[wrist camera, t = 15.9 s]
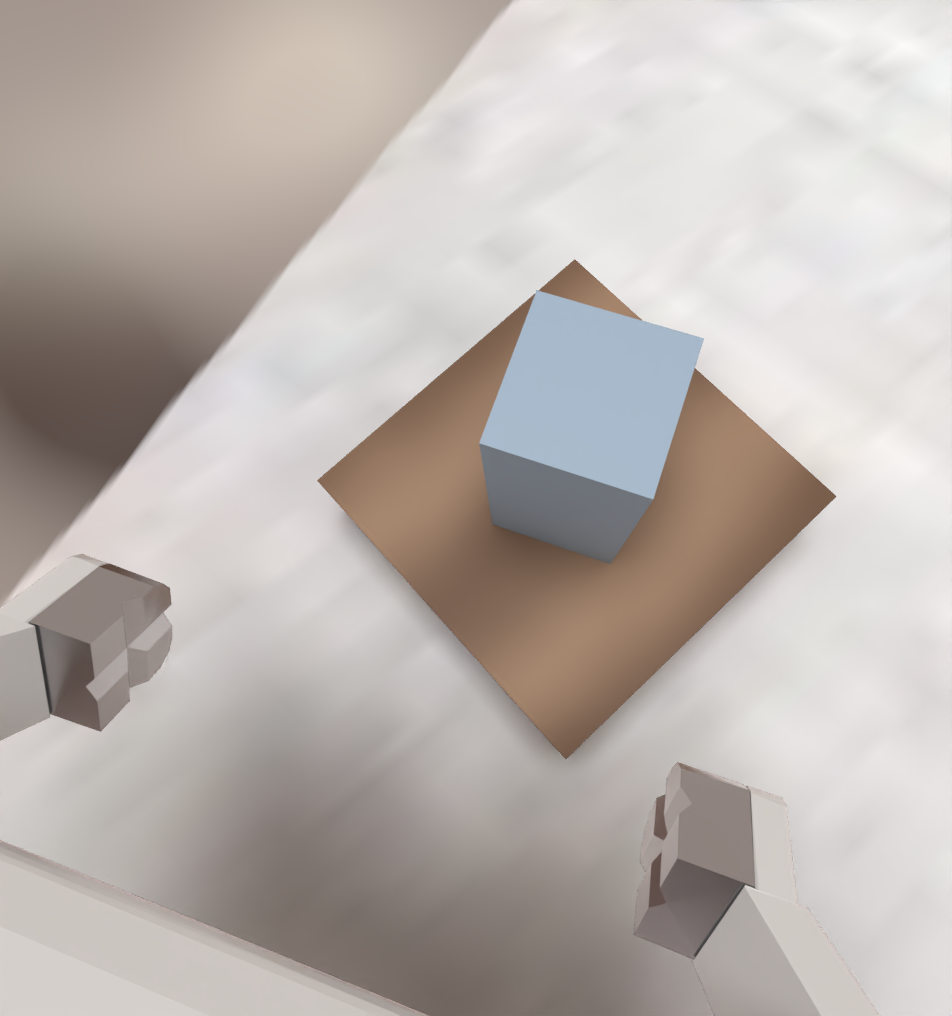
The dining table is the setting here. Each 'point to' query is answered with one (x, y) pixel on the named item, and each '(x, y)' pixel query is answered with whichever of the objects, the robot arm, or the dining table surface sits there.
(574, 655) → the base brick
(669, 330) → the tower block
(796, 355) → the dining table surface
